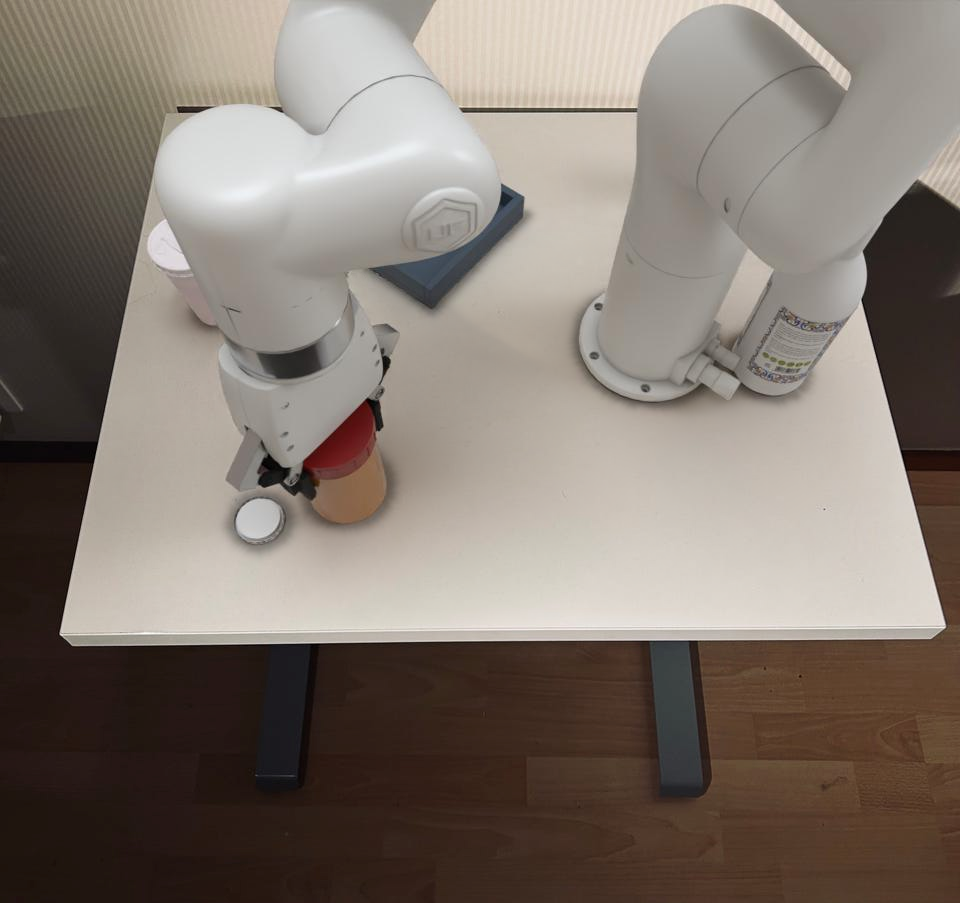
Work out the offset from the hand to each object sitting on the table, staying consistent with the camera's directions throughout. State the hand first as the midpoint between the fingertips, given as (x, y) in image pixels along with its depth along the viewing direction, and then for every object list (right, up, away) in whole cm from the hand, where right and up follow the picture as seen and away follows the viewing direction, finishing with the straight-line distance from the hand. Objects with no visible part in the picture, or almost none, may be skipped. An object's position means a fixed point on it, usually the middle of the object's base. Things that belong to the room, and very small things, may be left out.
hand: (333, 452), depth 62 cm
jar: (0, -3, +6) cm, 7 cm away
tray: (+3, +24, +19) cm, 31 cm away
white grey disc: (-7, -6, +5) cm, 10 cm away
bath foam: (+38, +8, +12) cm, 40 cm away
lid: (0, +2, -4) cm, 4 cm away
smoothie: (-14, +13, +14) cm, 24 cm away
